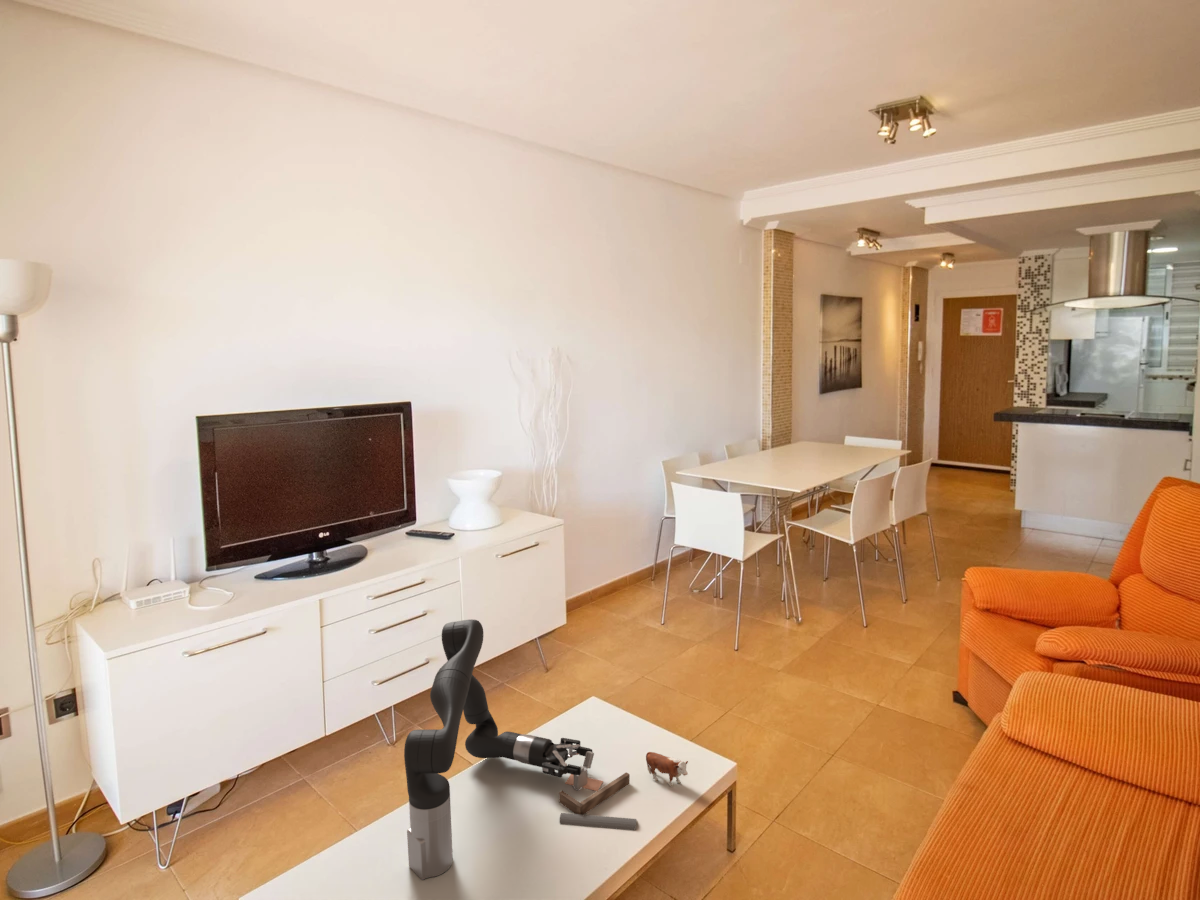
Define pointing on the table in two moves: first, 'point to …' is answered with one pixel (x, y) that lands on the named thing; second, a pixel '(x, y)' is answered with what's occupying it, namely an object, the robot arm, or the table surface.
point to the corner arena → (594, 796)
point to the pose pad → (591, 783)
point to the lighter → (583, 771)
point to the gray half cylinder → (598, 821)
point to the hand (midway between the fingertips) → (586, 762)
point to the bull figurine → (665, 766)
